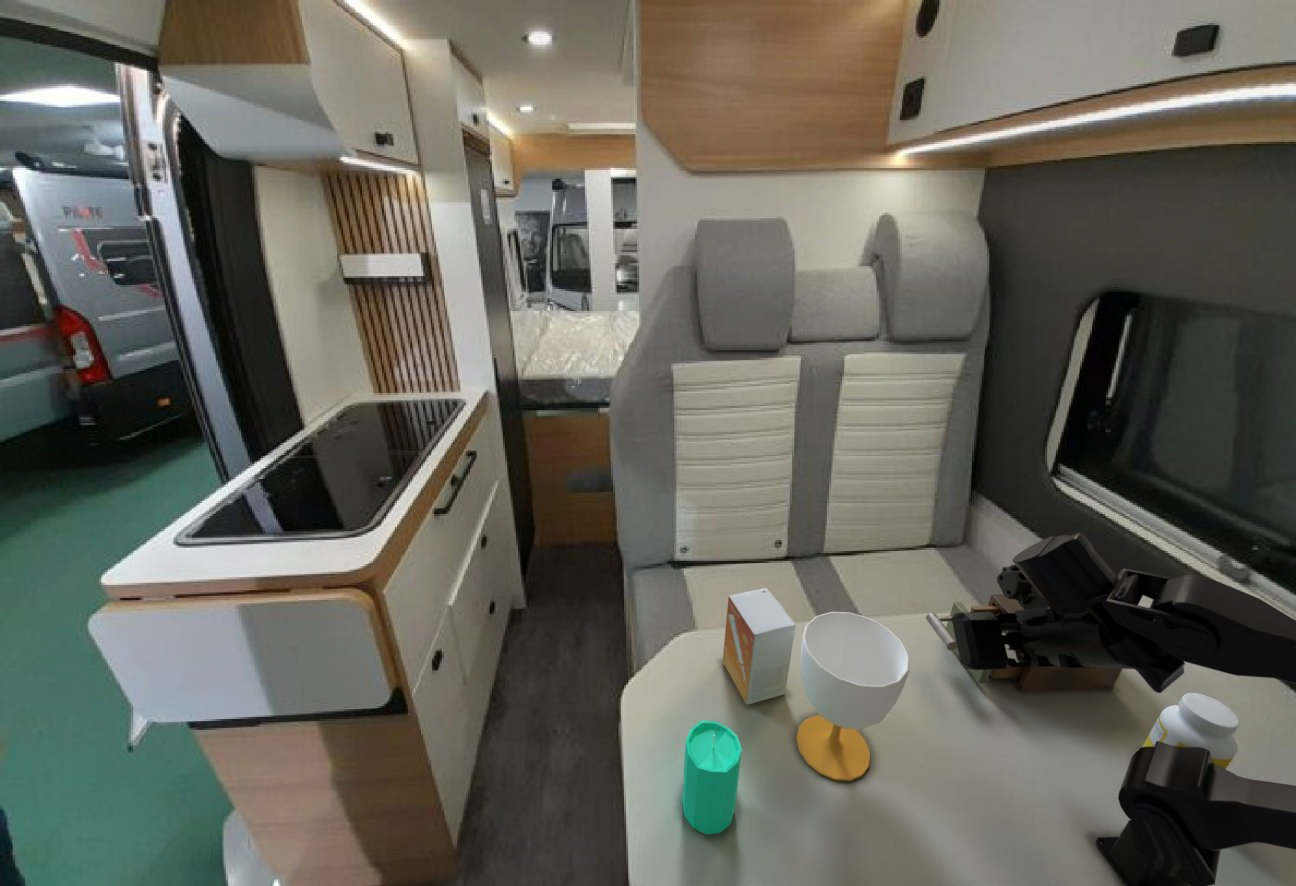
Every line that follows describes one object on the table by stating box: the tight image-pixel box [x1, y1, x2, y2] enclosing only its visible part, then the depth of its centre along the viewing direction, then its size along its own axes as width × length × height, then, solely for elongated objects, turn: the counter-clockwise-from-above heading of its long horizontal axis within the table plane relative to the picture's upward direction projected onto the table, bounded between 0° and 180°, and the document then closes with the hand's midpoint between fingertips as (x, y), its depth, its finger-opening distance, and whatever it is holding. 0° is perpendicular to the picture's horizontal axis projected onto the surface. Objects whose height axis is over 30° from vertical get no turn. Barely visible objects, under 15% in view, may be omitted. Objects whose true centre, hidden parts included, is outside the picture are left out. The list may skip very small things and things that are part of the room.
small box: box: [722, 587, 797, 706], centre depth 76 cm, size 8×6×13 cm
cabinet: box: [987, 593, 1123, 692], centre depth 80 cm, size 14×11×9 cm
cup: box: [795, 611, 910, 782], centre depth 65 cm, size 12×12×17 cm
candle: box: [681, 720, 743, 835], centre depth 59 cm, size 6×6×12 cm
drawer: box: [925, 601, 1025, 685], centre depth 80 cm, size 18×9×7 cm, turn 92°
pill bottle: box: [1142, 692, 1240, 770], centre depth 63 cm, size 6×6×12 cm
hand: (993, 639), depth 70 cm, fingers closed
